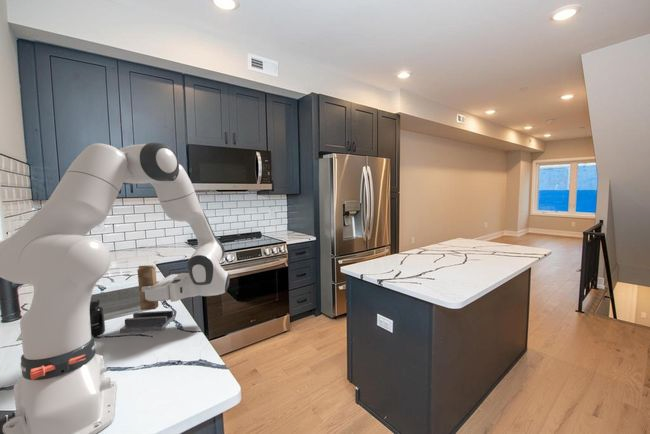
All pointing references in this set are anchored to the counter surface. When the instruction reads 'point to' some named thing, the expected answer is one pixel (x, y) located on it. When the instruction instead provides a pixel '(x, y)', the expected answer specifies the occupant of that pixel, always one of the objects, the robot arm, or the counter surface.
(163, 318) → the floor track
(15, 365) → the counter surface
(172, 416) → the counter surface
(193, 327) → the counter surface
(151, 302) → the brown tall rectangular block
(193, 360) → the counter surface
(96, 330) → the supplement bottle
